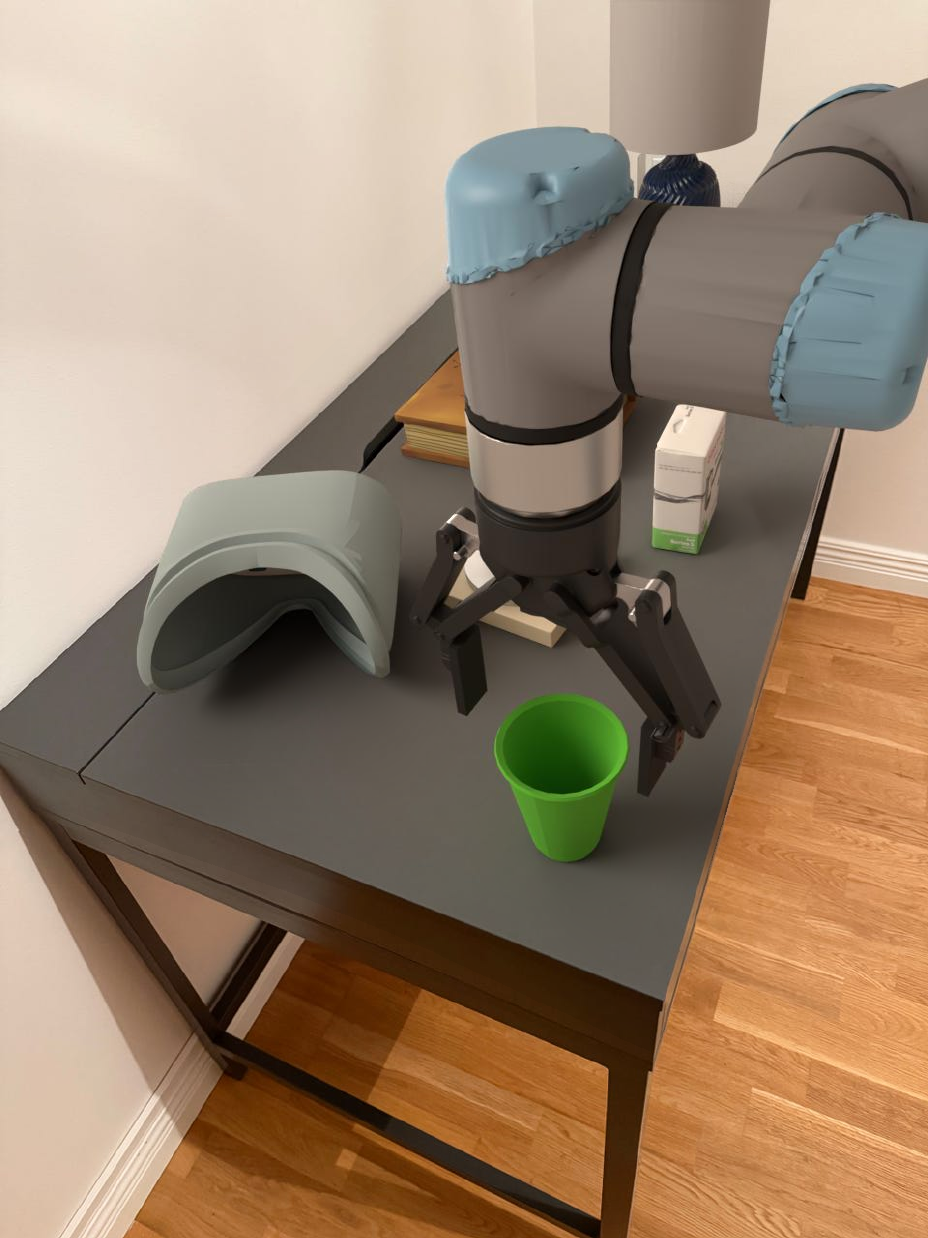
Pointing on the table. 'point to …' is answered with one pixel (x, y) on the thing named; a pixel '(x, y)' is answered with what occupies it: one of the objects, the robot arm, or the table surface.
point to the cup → (562, 769)
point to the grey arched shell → (272, 572)
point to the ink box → (687, 477)
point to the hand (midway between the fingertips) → (557, 738)
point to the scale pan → (479, 573)
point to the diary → (447, 417)
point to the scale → (510, 617)
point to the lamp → (685, 87)
